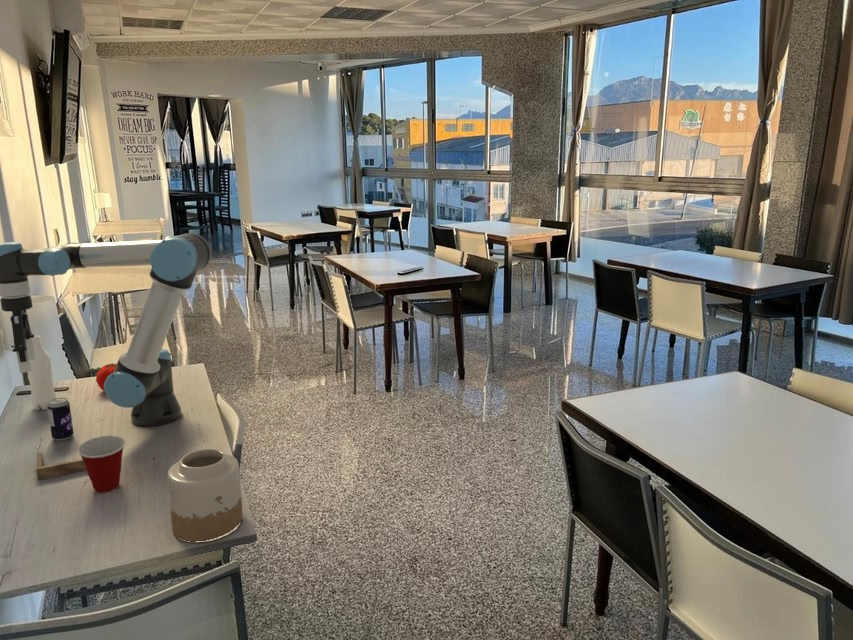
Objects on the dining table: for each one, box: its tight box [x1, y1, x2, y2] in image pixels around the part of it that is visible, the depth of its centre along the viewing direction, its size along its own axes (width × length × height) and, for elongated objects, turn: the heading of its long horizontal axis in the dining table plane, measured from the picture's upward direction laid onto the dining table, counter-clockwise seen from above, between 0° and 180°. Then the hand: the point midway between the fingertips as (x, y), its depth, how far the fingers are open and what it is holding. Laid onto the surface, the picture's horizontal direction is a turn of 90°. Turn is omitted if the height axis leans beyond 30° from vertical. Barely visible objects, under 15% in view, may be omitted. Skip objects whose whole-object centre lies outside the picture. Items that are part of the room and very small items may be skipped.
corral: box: [35, 451, 87, 481], centre depth 166 cm, size 12×11×3 cm
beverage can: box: [47, 397, 74, 441], centre depth 183 cm, size 6×6×12 cm
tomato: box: [95, 363, 117, 392], centre depth 223 cm, size 11×13×10 cm
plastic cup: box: [76, 434, 126, 493], centre depth 154 cm, size 11×11×12 cm
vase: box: [167, 448, 244, 542], centre depth 138 cm, size 15×15×17 cm
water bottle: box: [26, 335, 57, 411], centre depth 204 cm, size 7×7×25 cm
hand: (28, 365), depth 182 cm, fingers open, 13 cm apart
